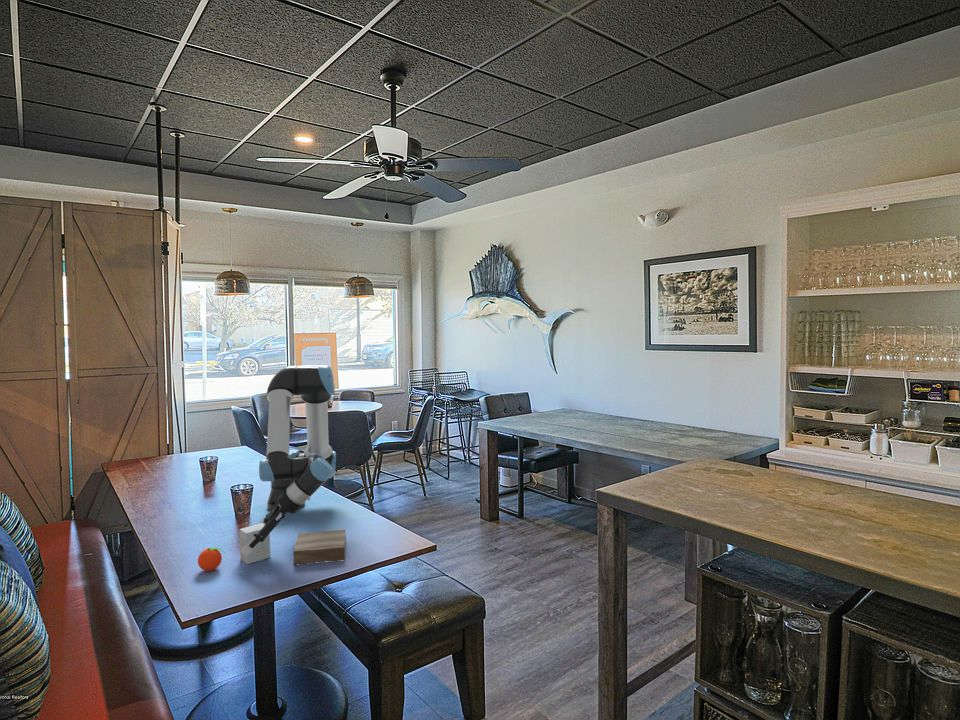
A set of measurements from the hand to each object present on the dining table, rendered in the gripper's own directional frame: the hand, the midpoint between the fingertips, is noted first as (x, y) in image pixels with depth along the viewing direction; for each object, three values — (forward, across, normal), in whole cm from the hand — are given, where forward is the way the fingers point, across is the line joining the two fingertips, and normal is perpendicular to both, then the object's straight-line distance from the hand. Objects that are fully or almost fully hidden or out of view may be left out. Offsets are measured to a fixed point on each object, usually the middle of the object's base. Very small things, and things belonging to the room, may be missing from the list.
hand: (247, 545), depth 189 cm
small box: (+2, 0, -5) cm, 5 cm away
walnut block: (-13, 0, -20) cm, 24 cm away
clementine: (+10, -6, +3) cm, 12 cm away
